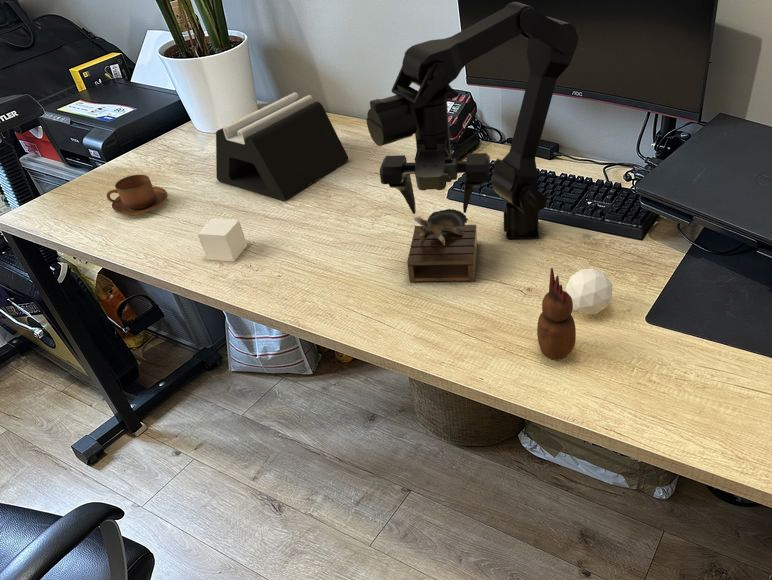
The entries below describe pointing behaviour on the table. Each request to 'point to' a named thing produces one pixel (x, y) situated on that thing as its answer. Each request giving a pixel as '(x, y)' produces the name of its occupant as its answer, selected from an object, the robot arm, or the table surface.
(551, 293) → the wooden figurine
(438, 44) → the robot arm
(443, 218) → the brown grey dinosaur figurine
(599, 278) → the geometric ball
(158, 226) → the table surface
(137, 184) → the cup and saucer
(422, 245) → the box
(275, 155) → the device stand
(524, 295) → the table surface
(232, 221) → the cream white cube
